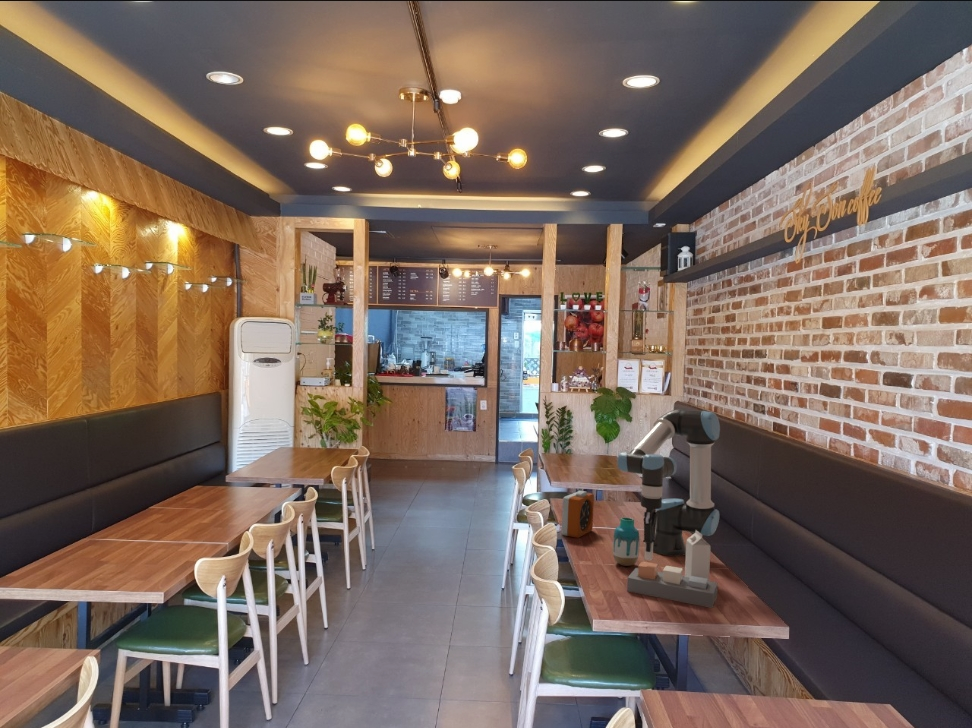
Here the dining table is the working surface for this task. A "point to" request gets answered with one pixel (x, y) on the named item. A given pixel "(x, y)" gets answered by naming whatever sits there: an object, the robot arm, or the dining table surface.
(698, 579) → the key slate
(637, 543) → the vase
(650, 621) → the dining table surface
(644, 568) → the key rust
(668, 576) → the key ivory
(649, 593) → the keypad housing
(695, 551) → the milk carton
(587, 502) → the alarm clock
